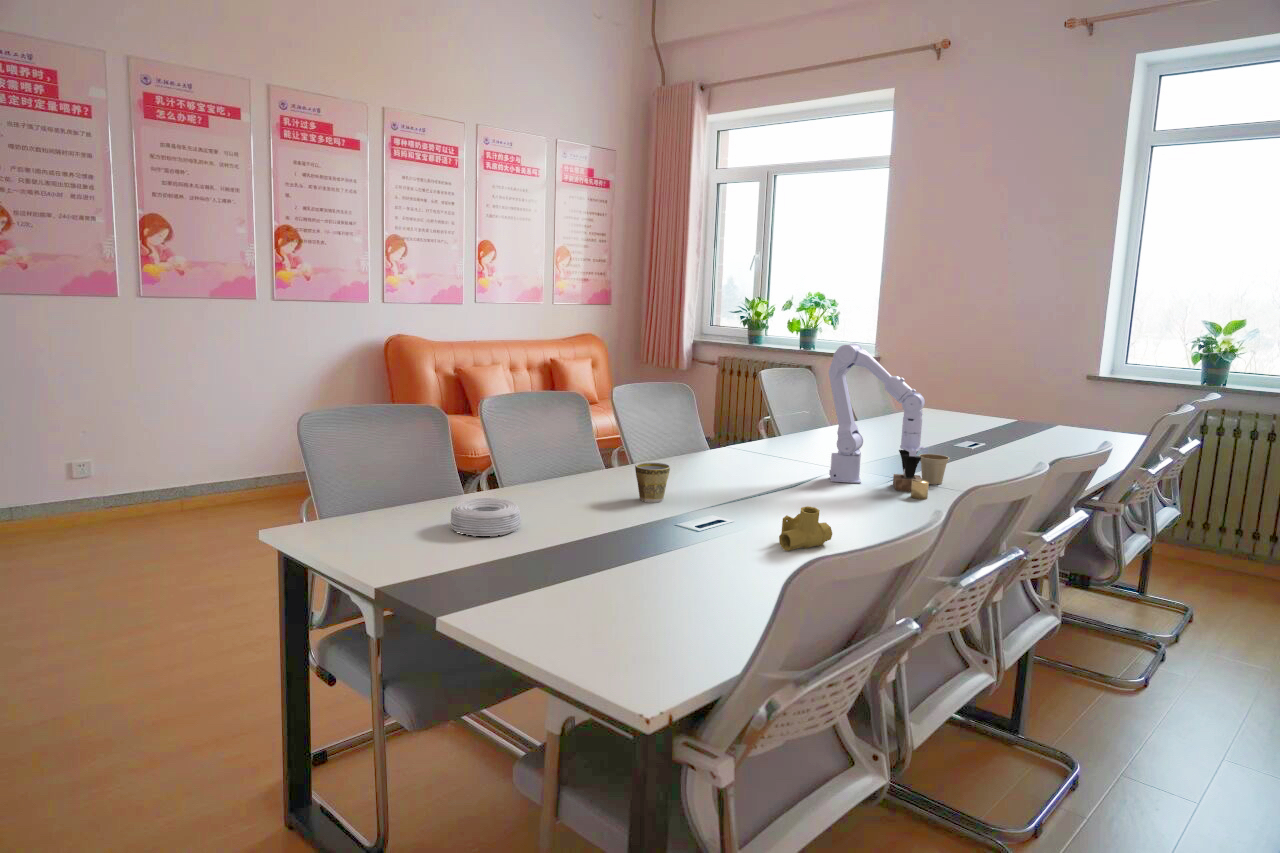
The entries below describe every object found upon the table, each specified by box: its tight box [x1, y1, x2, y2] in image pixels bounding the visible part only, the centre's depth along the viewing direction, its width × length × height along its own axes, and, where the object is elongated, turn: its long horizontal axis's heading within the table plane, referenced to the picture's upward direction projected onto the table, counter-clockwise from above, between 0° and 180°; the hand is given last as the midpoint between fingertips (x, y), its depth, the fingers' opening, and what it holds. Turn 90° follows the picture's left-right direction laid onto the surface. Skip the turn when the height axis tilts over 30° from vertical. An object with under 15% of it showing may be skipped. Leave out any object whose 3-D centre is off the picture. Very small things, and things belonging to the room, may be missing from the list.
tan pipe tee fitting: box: [778, 506, 833, 552], centre depth 204 cm, size 13×10×10 cm
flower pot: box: [918, 453, 950, 486], centre depth 277 cm, size 9×9×9 cm
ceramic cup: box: [634, 462, 671, 503], centre depth 246 cm, size 13×10×10 cm
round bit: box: [910, 480, 930, 501], centre depth 256 cm, size 5×5×5 cm
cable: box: [449, 497, 523, 537], centre depth 212 cm, size 18×18×6 cm
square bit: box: [902, 468, 914, 479], centre depth 268 cm, size 3×3×6 cm
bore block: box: [892, 473, 922, 492], centre depth 268 cm, size 8×8×4 cm
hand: (908, 475), depth 268 cm, fingers open, 7 cm apart
